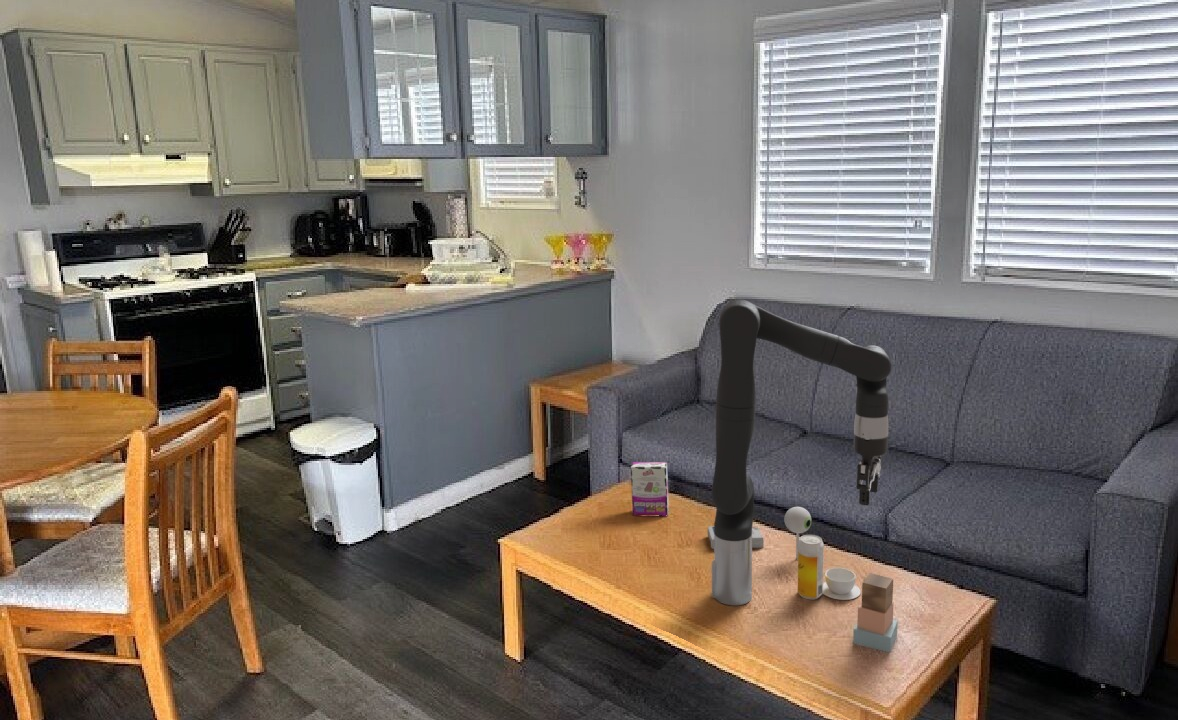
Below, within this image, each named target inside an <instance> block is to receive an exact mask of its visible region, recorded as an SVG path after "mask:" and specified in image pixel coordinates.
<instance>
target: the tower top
mask: <svg viewBox="0 0 1178 720" xmlns="http://www.w3.org/2000/svg"><path fill="white" fill-rule="evenodd" d="M893 619H894V602H893V601H892V604H891V606H890V607H889V609H888V610H887V612H886V613H882V612H878V611H874V610H871V609H867V608H863V607H862V601H861V603H860V604H859V605H858V607H857V619H856V623H857V627H858V628H862V629H865V630H869V631H872V632H876V633H879V634H882V635H885V633H886V632H887V630H888V629H889V627H890V626H891V624H892V623H893Z"/></svg>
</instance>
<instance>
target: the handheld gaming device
mask: <svg viewBox="0 0 1178 720" xmlns="http://www.w3.org/2000/svg"><path fill="white" fill-rule="evenodd" d="M707 537H708V538H709V541H710V547H711V549H713V550H714V525H713V526H712V525H711V526H710V525H709V526H707ZM755 548H756V549H759V548H762V549H763V548H764V536H763V534H762V532H761V529H760V528H758V527H755V526H753V525H752V549H755Z"/></svg>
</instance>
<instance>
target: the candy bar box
mask: <svg viewBox="0 0 1178 720" xmlns="http://www.w3.org/2000/svg"><path fill="white" fill-rule="evenodd" d="M630 479H631V480H630V484H631V504H632V516H633V515H659V516H658V517H665V516H666V515H667V517H668V516H669V512H670V511H669V510H670V506H669V502H670V501H669V479H668V462H665V461H661V462H656V461H655V462H654V461H653V462H647V461H645V462H643V461H641V462H640V461H635V462H634V461H633V462H632V464H631V466H630ZM668 511H669V512H668Z"/></svg>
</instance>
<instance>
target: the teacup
mask: <svg viewBox="0 0 1178 720" xmlns="http://www.w3.org/2000/svg"><path fill="white" fill-rule="evenodd" d="M824 576H825V581H823V593H822V595H824V596H826V597H828V598H831V599H834V600H840V601H844V600H845V601H848V600H853V599H857V598H858V597H860V595H861V594H862V590H861V588H859V586H858V585H857V584H855V583H856V578H857V575H856V573H855V572H853V571H852V570H849V569H848V568H843V567H833V568H832V567H831V568H829V569H827V570H825V573H824Z"/></svg>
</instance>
